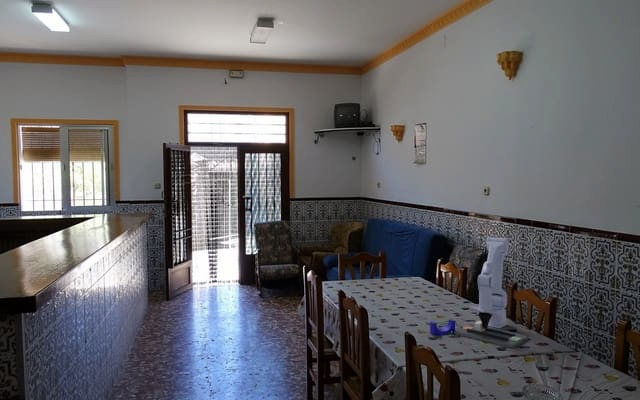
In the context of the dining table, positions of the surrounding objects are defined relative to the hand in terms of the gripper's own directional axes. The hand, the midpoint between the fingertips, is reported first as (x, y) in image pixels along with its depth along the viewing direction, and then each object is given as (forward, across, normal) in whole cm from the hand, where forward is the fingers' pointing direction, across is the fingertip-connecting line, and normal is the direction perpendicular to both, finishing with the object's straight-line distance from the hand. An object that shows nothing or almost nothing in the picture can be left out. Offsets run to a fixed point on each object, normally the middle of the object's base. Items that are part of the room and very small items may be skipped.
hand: (485, 328), depth 234 cm
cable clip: (+4, -17, -10) cm, 20 cm away
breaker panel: (+3, +3, 0) cm, 4 cm away
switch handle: (+2, -3, 0) cm, 3 cm away
